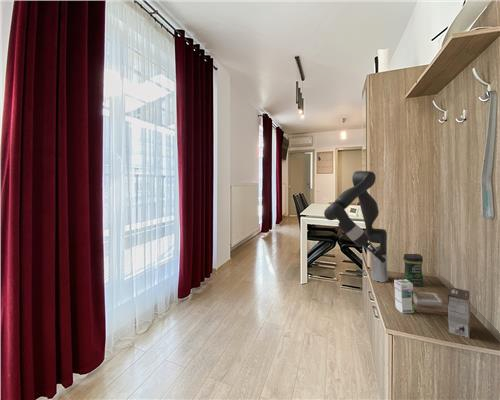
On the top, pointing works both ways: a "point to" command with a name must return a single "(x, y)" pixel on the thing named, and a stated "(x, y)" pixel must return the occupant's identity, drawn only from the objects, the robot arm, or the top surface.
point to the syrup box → (404, 296)
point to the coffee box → (459, 312)
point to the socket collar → (427, 303)
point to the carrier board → (432, 310)
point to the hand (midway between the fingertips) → (381, 259)
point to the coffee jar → (413, 269)
